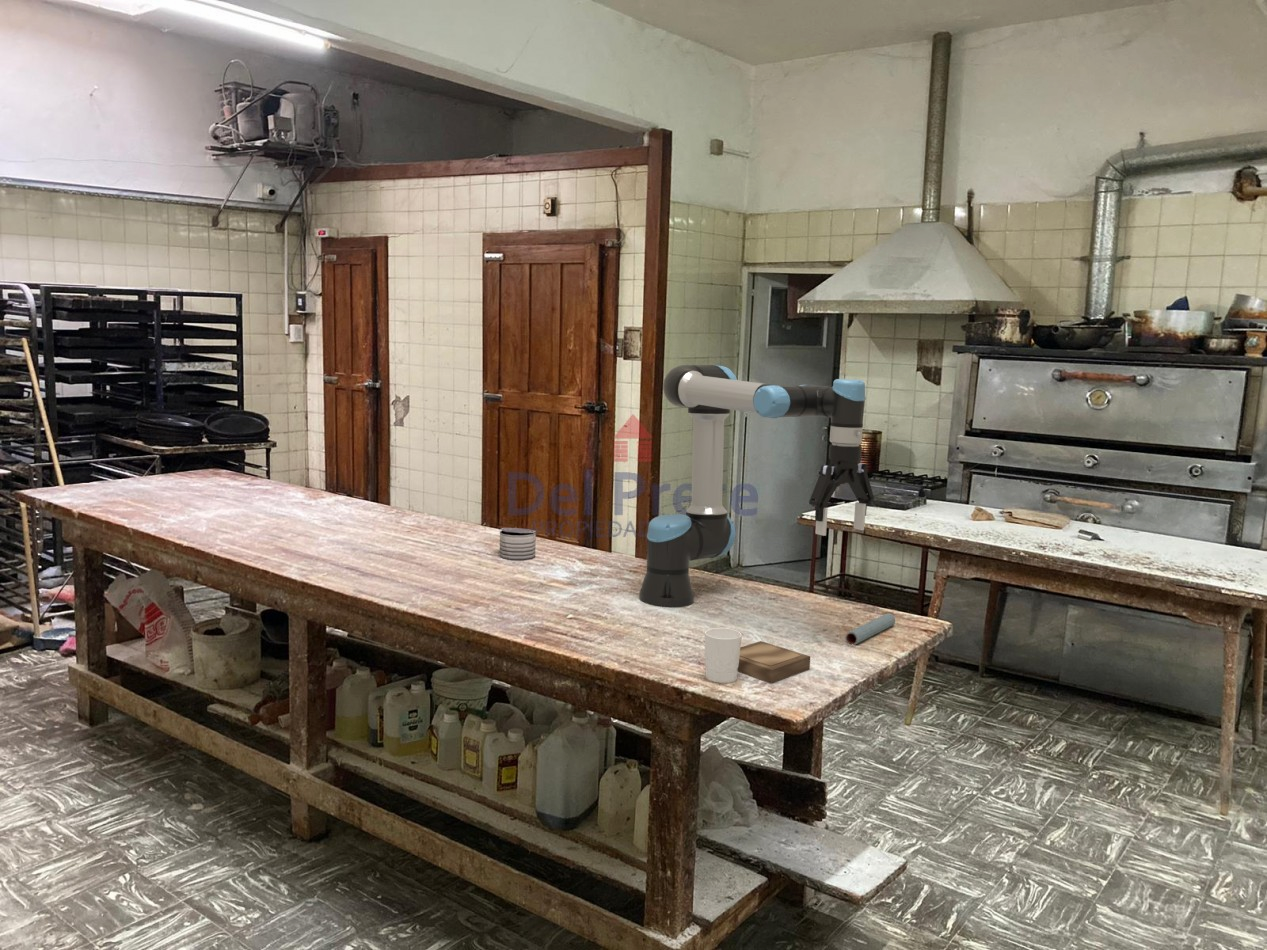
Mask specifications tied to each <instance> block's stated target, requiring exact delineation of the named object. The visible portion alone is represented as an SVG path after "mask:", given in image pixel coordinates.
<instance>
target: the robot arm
mask: <svg viewBox="0 0 1267 950" xmlns="http://www.w3.org/2000/svg"><path fill="white" fill-rule="evenodd" d="M832 384H833V385H832V386H824V385H818V384H817V385H815V384H811V383H810V384H800V385H782V384H781V385H779V384H772V383H762V382H754V381H747V380H745V381H744V380H739V379H738V378H737V376H736V374H734V372H733V371H732V370H731V369H730V368H728V367H726V366H723V365H717V364H705V365H704V364H696V365H695V364H692V365H691V364H684V365H683V364H682V365H678V366H676V367H674V368H671V370H669V371H668V373H667V374H666V376H665V377H664V380H663V382H662V385H663V386H662V390H663V394H664V396H665V398H666V400H667V401H668V402H669V403H670V404H672V405H673V406H676V407H678V408H687V414H688V415H689V417H690V418H691V419H692V420H693V421H692V422H693V423H692V426H693V427H692V463H691V464H692V465H691V467H692V469H691V470H692V471H691V472H692V474H691V475H692V476H691V505H690V506H689V507H687V509H686V510H685V514H682V513H681V514H680V513H672V514H662V515H658V516H655V517H654V518H652V519H651V520H650V521H649V523H648V527H647V533H646V534H647V535H646V538H647V543H646V545H647V546H646V548H647V550H646V570H645V572H646V573H645V576H644V578H643V581H642V585H641V588H640V589H639V594H638V595H639V598H638V599H639V600H640V601H641V602H642V603H644V604H647V605H649V606H653V607H660V608H669V609H670V608H672V609H673V608H674V609H675V608H683V607H688V606H691V605H693V604H694V603H695V592H694V590H693V588H692V583H691V579H690V562H691V561H696V560H698V561H699V560H702V559H703V560H705V559H714V558H718V557H719V556H720V557H721V556H723V555H725V554H727V553H728V552H729V551H731V549H732V547H733V546H734V543H735V541H736V540H735V539H736V528H735V525H734V524H733V522H734V521H733V520H732V519H731V518H730V517H729V516H728V510H727V509H726V508H725V507H724V506H723V480H724V479H723V478H724V476H723V475H724V448H725V447H724V442H725V441H724V440H725V439H724V437H725V420H726V419H727V418H728V417H729V416H730V414H731V410H732V411H738V412H742V413H743V412H744V413H751V414H757V415H759V416H760V417H763V418H769V419H778V418H795V417H796V418H801V417H808V418H809V417H817V418H818V417H819V418H820V417H821V418H829V419H830V430H829V442H830V443H831V444H830V445H829V449H828V459H829V460H830V465H824V464H822V465H821V466H820V472H819V476H818V479H817V481H816V483H815V486H814V488H813V491H812V493H811V496H810V499H809V502H808V503H809V505H811V506H812V507H815V514H814V520H815V535H819V536H822V537H824V536H825V537H826V536H827V526H828V525H827V524H828V512H829V511H828V509H829V508H828V507H826V506H827V504H828V503H829V502H830V500H831V498H832V496H833V495H834V493H835V491H836V490H837V488H838V487H840V486H841V485H844V484H848V485H849V487H850V489H851V491H852V492H853V494H854V496H855V499H857V501H856V502H855V503H854V516H853V519H854V520H853V529H854V530H857V531H865V525H866V524H865V523H866V516H867V508H868V505H870V504H871V503H872V501H873V500H874V499H875V497H874V493H873V489H872V486H871V481H870V479H869V475H868V464H867V463H863V462H861V460H862V448H863V447H862V446H861V444H862V443H863V442H862V441H863V429H864V428H863V427H864V413H865V404H866V383H865V382H864V381H863V380H861V379H848V378H836V379H834V381H833V383H832Z"/></svg>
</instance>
